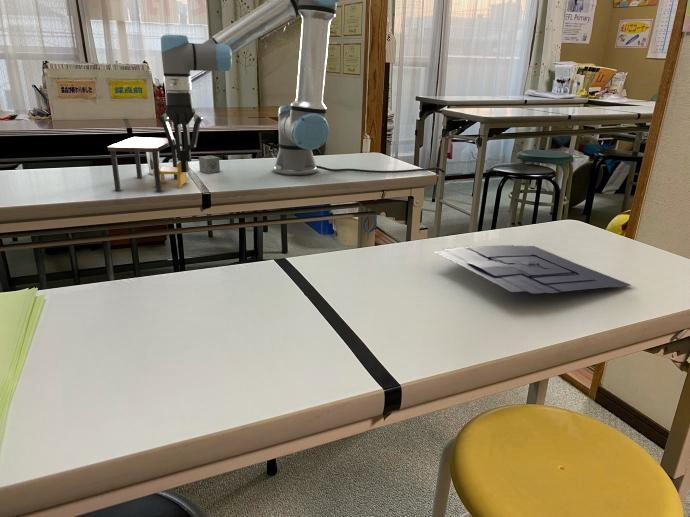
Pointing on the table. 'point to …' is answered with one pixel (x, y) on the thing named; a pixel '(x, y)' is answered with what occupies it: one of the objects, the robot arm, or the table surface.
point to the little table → (139, 146)
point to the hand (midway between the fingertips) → (185, 171)
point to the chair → (174, 170)
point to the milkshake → (150, 161)
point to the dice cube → (209, 164)
